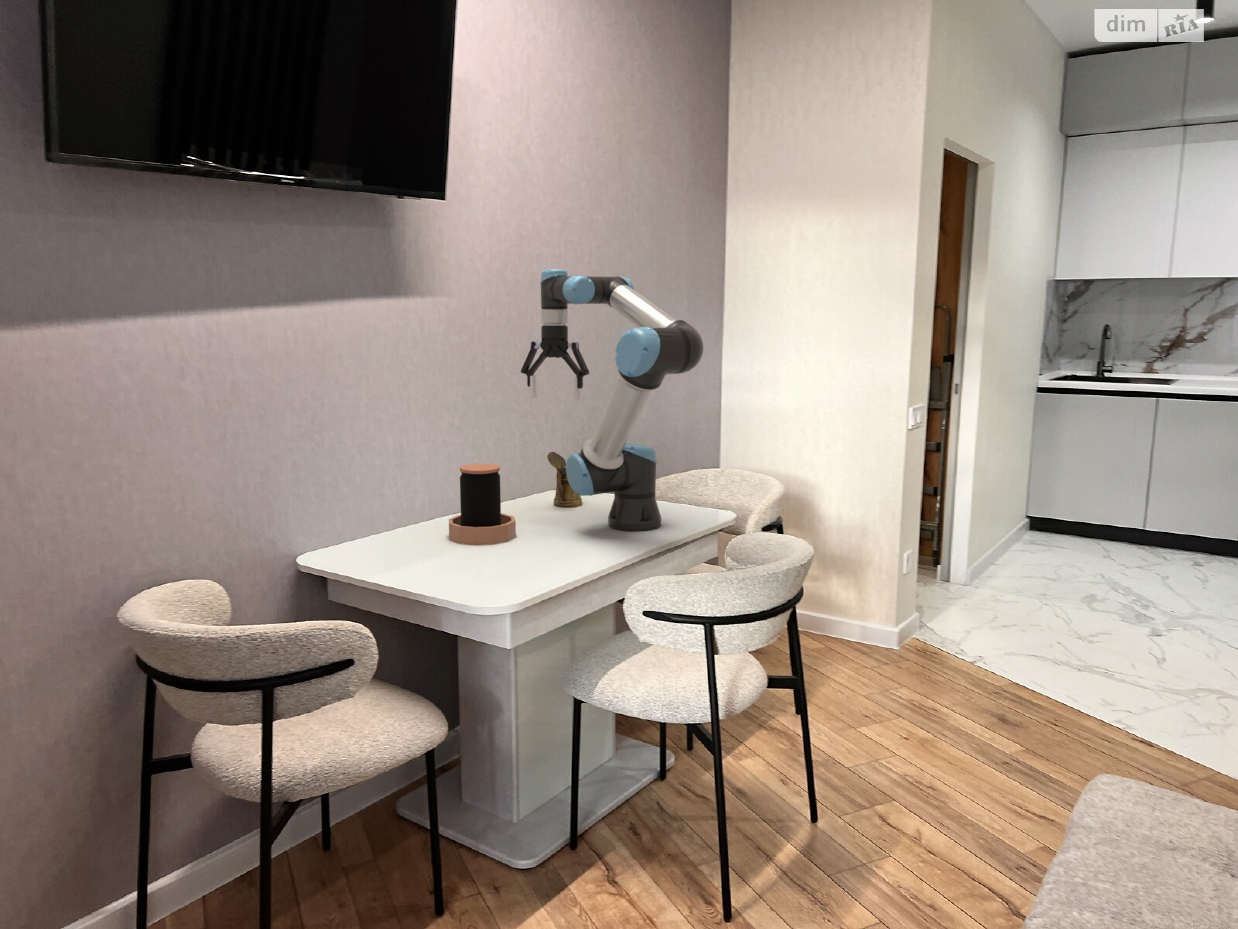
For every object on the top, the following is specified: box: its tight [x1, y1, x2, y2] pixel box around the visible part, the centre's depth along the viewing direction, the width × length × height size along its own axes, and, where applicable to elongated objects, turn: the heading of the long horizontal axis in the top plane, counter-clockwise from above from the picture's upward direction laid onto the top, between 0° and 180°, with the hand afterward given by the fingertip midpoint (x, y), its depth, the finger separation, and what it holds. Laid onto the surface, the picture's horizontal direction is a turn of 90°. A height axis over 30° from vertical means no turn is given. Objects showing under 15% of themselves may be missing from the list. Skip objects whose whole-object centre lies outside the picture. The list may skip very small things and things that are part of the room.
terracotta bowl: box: [448, 512, 517, 546], centre depth 252 cm, size 18×18×4 cm
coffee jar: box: [459, 463, 502, 527], centre depth 251 cm, size 11×11×18 cm
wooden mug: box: [546, 451, 583, 508], centre depth 288 cm, size 9×14×18 cm, turn 151°
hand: (555, 399), depth 270 cm, fingers open, 13 cm apart
